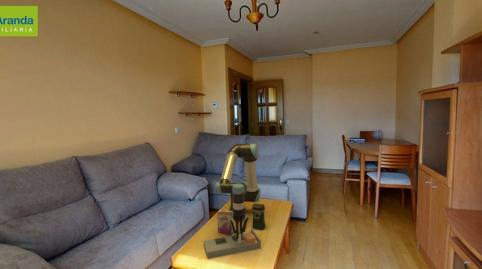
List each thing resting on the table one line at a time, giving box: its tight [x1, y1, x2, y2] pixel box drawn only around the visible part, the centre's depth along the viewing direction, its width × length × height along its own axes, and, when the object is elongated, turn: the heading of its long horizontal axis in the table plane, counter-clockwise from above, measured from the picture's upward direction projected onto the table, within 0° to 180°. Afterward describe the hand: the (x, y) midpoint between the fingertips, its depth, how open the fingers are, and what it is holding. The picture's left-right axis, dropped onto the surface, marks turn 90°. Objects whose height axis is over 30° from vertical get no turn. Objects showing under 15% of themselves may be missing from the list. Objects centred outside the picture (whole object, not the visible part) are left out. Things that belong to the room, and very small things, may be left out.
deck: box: [203, 227, 262, 260], centre depth 162 cm, size 17×35×6 cm, turn 107°
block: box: [244, 234, 256, 244], centre depth 162 cm, size 6×6×4 cm
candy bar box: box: [216, 208, 234, 235], centre depth 180 cm, size 11×5×16 cm, turn 71°
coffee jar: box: [251, 202, 266, 230], centre depth 186 cm, size 10×8×19 cm
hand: (239, 242), depth 159 cm, fingers closed
